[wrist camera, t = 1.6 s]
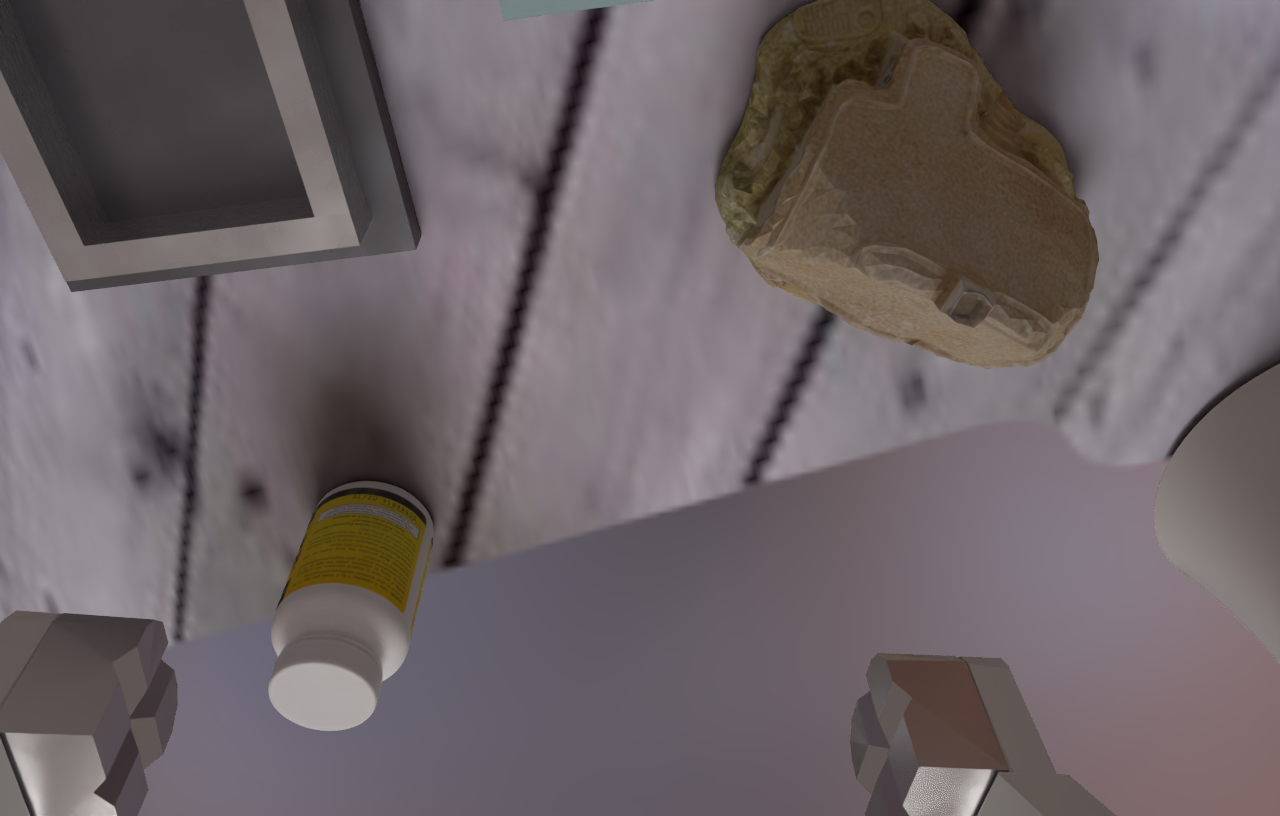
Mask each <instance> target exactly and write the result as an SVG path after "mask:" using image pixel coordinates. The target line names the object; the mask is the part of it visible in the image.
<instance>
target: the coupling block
mask: <svg viewBox="0 0 1280 816" xmlns="http://www.w3.org/2000/svg"><path fill="white" fill-rule="evenodd" d="M645 1H652V0H500V5H501V10H502V15H503V21H504V20H512V19H519V18H526V17H534V16H541V15H549V14H556V13H564V12H571V11H578V10H586V9H593V8H601V7H608V6H615V5H623V4H630V3H638V2H645Z"/></svg>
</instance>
